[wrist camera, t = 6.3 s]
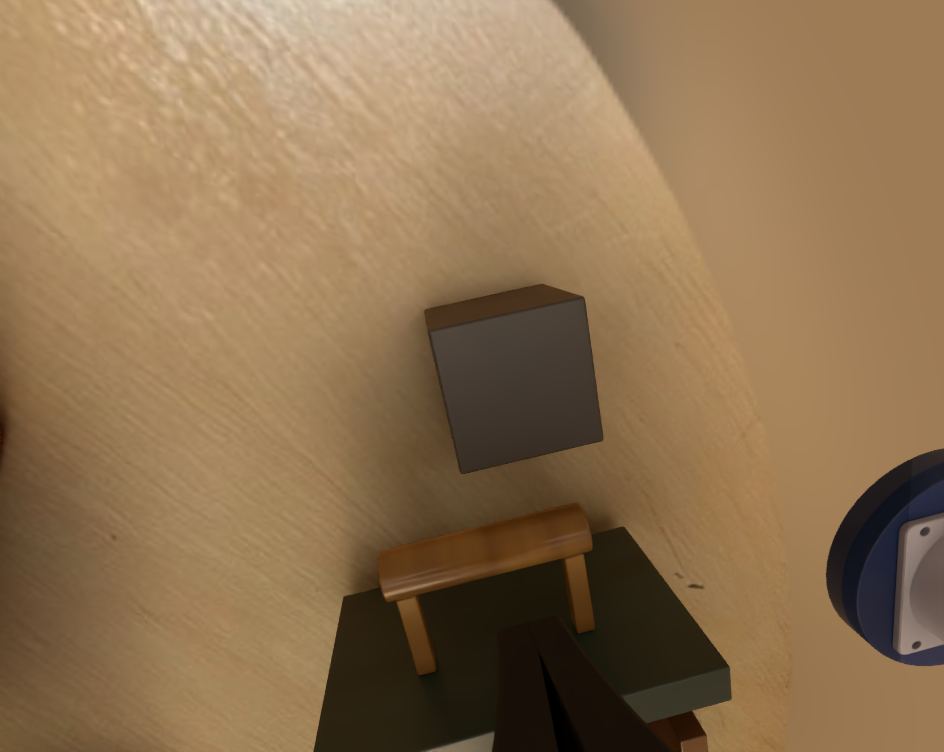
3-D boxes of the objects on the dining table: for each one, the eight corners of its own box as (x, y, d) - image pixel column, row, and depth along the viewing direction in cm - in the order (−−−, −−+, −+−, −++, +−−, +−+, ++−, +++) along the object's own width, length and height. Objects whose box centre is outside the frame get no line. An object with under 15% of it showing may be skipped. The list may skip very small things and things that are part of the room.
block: (543, 283, 17) (585, 296, 13) (561, 397, 19) (604, 441, 14) (423, 309, 17) (427, 330, 13) (449, 422, 18) (460, 476, 14)
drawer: (311, 501, 18) (253, 652, 11) (612, 430, 18) (722, 533, 12) (421, 832, 23) (425, 1070, 16) (654, 766, 23) (749, 969, 17)
